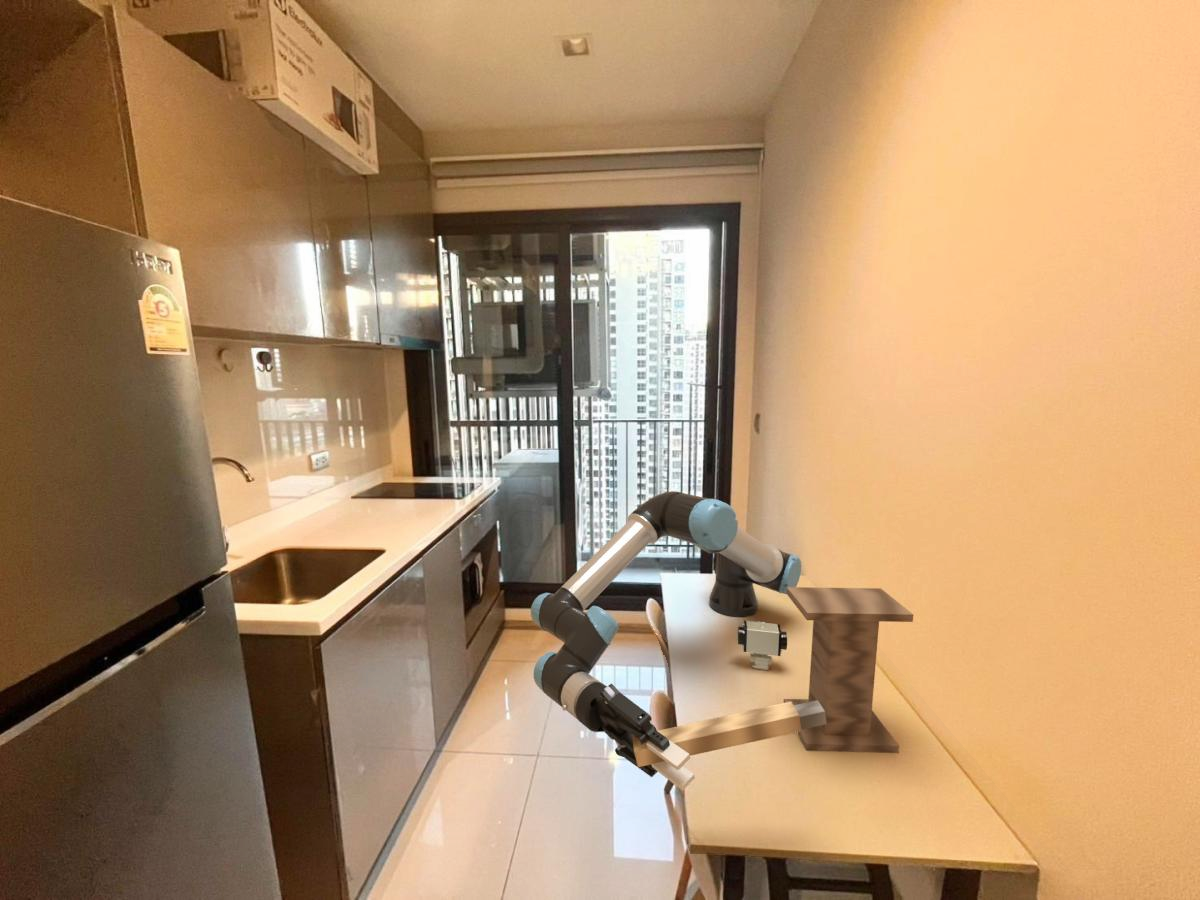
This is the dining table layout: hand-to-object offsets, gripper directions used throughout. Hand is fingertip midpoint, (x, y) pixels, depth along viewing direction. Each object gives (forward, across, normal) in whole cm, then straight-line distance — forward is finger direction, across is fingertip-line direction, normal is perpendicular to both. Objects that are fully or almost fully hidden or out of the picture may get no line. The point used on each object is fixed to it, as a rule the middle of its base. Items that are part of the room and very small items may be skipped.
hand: (685, 772), depth 74 cm
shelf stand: (-2, -27, +44) cm, 51 cm away
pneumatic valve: (-26, -27, +51) cm, 63 cm away
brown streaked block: (+1, 0, +9) cm, 9 cm away
